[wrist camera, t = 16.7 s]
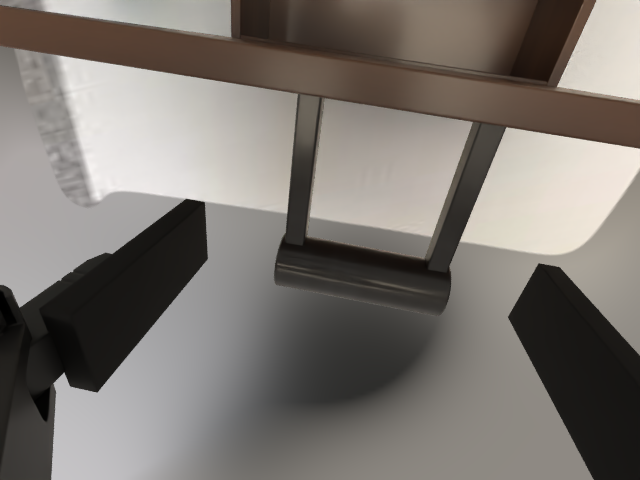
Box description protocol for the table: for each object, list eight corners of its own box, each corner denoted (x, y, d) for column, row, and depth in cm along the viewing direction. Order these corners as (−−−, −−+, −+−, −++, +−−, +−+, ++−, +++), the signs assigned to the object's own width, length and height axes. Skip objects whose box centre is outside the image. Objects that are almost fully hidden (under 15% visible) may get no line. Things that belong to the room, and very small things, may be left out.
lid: (-23, 2, 7) (71, 284, 11) (948, 150, 6) (662, 404, 10) (228, 37, 19) (229, 165, 23) (560, 87, 18) (502, 213, 22)
